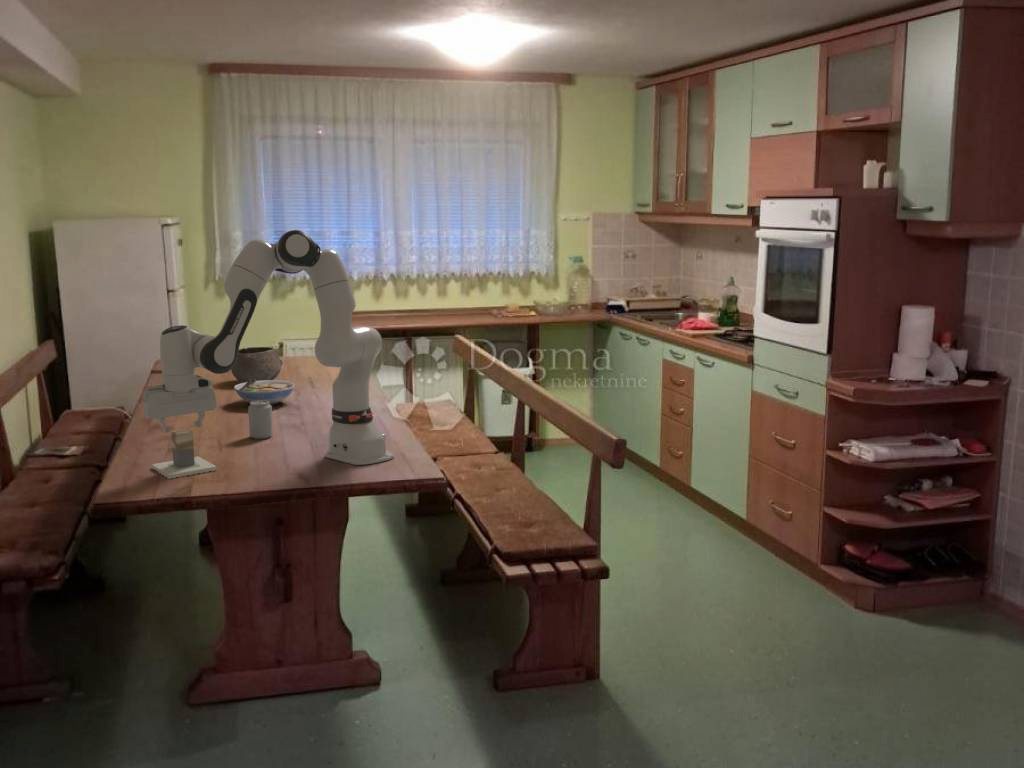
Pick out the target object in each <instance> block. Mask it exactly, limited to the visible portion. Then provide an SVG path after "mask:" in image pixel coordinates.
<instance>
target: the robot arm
mask: <svg viewBox="0 0 1024 768" xmlns="http://www.w3.org/2000/svg"><path fill="white" fill-rule="evenodd" d="M274 271H276V272H282V273H286V274H291V275H293V274H295V275H296V274H298V273H301V272H302V271H304V272H305V273H306V274H307V275H308V276H309V279H310V280H311V284H312V288H313V292H314V295H315V298H316V301H317V306H318V310H319V315H320V316H319V317H320V330H319V331H320V332H319V336H318V338H317V340H316V342H315V344H314V355H315V358H316V360H317V361H318V362H319V363H320V364H321V365H323V366H325V367H330V368H340V370H339V372H338V375H337V376H336V377H335V379H334V381H333V383H332V409H331V420H332V425H331V427H329V431H328V445H327V446H328V447H327V450H328V451H326V452H324V457H325V458H328V459H331V460H332V459H333V460H336V461H339V462H343V463H347V464H349V465H353V466H354V465H355V466H360V465H369V464H370V465H371V464H376V463H377V464H378V463H381V462H385V461H390V460H392V459H394V458H395V456H394V453H392V452H391V451H389V450H388V449H387V448H386V447H387V446H386V434H385V433H381V431H380V430H379V428H378V427H377V425H376V424H375V422H374V421H373V420H374V418H373V417H374V416H373V415H374V412H373V411H372V409H371V407H370V379H371V374H372V371H373V367H374V364H375V362H376V361H375V360H376V358H377V357H378V355H379V354H380V353H381V351H382V348H383V338H382V335H381V334H380V332H379V331H378V330H377V329H376V328H374V327H370V326H364V325H359V326H352V325H353V324H352V318H353V317H352V316H353V312H354V311H355V308H356V305H357V303H356V300H355V299H356V298H355V296H354V291H353V290H352V287H351V282H350V279H349V275H348V273H347V270H346V268H345V266H344V263H343V260H342V259H341V256H340V255H339V254H338V252H337V251H335V250H333V249H329V248H328V249H327V248H324V249H321V247H320V245H318V244H317V243H316V242H315V240H314V239H313V238H312V237H311V236H310V235H309V234H307V232H304V231H302V230H299V229H292V230H289V231H287V232H285V233H284V234H282V235H281V236H280V238H279V239H278V241H276V242H275V243H269V242H268V241H266V240H262V239H257V238H256V239H252V240H250V241H249V242H247V244H246V245H245V246H244V247H243V248H242V249H241V250H240V253H239V254H238V255H237V257H236V259H234V262H232V265H231V266H230V268H229V270H228V272H227V274H226V275H225V276H226V277H225V279H224V284H223V288H224V292H225V293H226V296H227V297H228V299H229V302H230V308H229V310H228V313H227V315H226V317H225V319H224V322H223V324H222V327H221V328H220V330H219V333H218V334H216V335H214V336H213V335H210V334H206V333H202V332H198V331H196V330H195V329H192V328H190V327H189V326H187V325H183V324H182V325H181V324H180V325H174V326H171V327H168V328H166V329H164V330H163V331H161V334H160V339H159V355H160V361H161V363H162V369H161V379H162V384H160V385H154V386H147V388H145V389H144V390H143V391H142V399H143V402H144V404H143V413H144V417H146V418H147V419H148V420H157V421H158V423H159V424H160V425H161V428H162V432H163V433H164V434H166V433H171V430H170V429H171V428H170V427H171V426H169V425H168V424H167V425H166V424H165V422H166V418H171V417H176V416H184V415H190V414H196V413H197V415H198V418H197V420H194V427H195V428H196V429H197V428H203V421H204V418H205V416H206V412H211V411H215V410H216V408H217V406H218V404H217V402H218V401H217V397H216V392H215V390H214V388H213V387H212V385H213V381H212V379H210V378H208V377H205V376H200V375H195V369H196V368H202V369H204V370H205V369H206V370H207V371H208V372H210V373H213V374H217V375H222V374H225V373H226V374H227V373H228V372H230V371H231V369H232V368H233V367H234V366H235V364H236V362H237V359H238V353H239V349H240V345H241V341H242V340H243V337H244V336H245V333H246V332H247V331H246V330H247V328H248V326H249V323H250V322H251V319H252V317H253V315H254V312H255V310H256V307H257V304H258V301H259V298H260V296H261V294H262V293H263V291H264V288H265V287H266V284H267V283H268V280H269V279H270V278H271V275H272V274H273V272H274Z"/></svg>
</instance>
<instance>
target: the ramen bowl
mask: <svg viewBox="0 0 1024 768" xmlns="http://www.w3.org/2000/svg"><path fill="white" fill-rule="evenodd" d="M253 379H254V377H252V378H251V379H250V380H249V381H248V382H245V383H242V382H240V383H238V384H235V385H234V387H233V389H234V391H235V392H236V394H237V395H238V396H239V397H240V399H242V400H244V401H245V402H248V403H249V404H250V402H253V401H260V400H263V401H269V404H270V405H271V406H275V405H276V404H278V403H280V402H281V401H284V400H286V399H287V398H288V397H289V396H290V395H291V394H292V391H293V390H294V388H295V383H294V382H292V381H287V380H279V379H278V380H277V379H276V380H275V379H273V380H262V381H256V380H257V379H258V377H256V378H255V379H254V380H253ZM252 380H253V381H252Z"/></svg>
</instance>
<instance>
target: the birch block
mask: <svg viewBox="0 0 1024 768" xmlns="http://www.w3.org/2000/svg"><path fill="white" fill-rule="evenodd" d="M170 433H171V434H170V435H171V449H172V448H174V449H175V450H177V451H181V450H187V449H193V448H194V449H195V445H194V444H195V443H194V432H193V431H192V430H190V429H188V428H184V429H182V428H181V429H177V430H170Z"/></svg>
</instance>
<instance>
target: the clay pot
mask: <svg viewBox="0 0 1024 768" xmlns="http://www.w3.org/2000/svg"><path fill="white" fill-rule="evenodd" d="M283 363H284V362H283V360H282V359H280V356H279V354H278V352H277V350H276V349H274V348H273V347H270V346H256V347H255V346H254V347H253V346H252V347H243V348H239V353H238V359H237V362H236V364H235V366H234V367H233V368H232V369H231V370H230V371H231V373H232V375H233V377H234V378H235V379H236V380H237V381H239V382H240V383H245V382H248V381H249V380H250V379H251V378H252V377H254V379H255V378H256V377H258V379H257V380H256V381H262V380H275V379H276V378H277V377H278V376H279V374H280V372H281V369H282V365H283ZM254 379H253V380H254ZM253 380H252V381H253Z"/></svg>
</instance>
